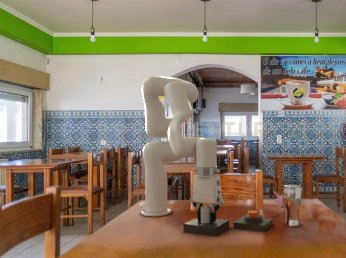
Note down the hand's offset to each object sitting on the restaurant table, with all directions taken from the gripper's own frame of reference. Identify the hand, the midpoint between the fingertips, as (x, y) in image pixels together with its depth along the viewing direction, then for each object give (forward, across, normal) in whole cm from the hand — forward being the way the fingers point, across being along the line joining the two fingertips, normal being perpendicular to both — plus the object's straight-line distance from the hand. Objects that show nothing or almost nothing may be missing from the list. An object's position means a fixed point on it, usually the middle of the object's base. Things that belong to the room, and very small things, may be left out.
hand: (206, 221), depth 130 cm
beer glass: (+4, -27, -19) cm, 33 cm away
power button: (0, -14, -11) cm, 18 cm away
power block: (+3, -14, -11) cm, 18 cm away
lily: (+4, -19, -34) cm, 39 cm away
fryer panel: (+3, 0, 0) cm, 3 cm away
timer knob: (0, 0, 0) cm, 0 cm away
